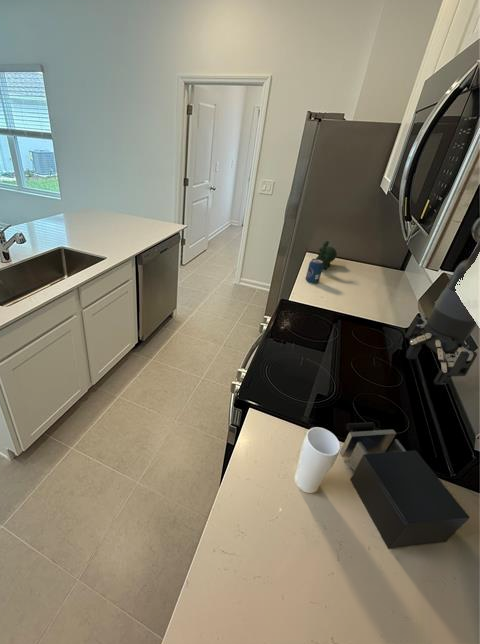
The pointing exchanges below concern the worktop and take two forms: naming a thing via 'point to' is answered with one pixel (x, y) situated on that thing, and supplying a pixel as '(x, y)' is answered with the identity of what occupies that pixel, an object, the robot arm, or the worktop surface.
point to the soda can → (314, 271)
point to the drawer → (368, 442)
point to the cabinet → (406, 499)
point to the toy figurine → (326, 255)
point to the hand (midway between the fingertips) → (423, 370)
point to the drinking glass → (316, 458)
